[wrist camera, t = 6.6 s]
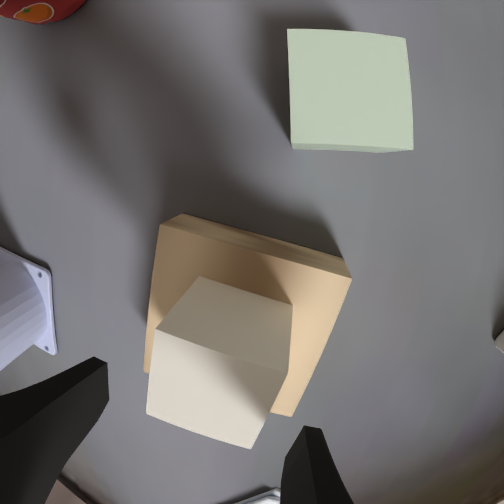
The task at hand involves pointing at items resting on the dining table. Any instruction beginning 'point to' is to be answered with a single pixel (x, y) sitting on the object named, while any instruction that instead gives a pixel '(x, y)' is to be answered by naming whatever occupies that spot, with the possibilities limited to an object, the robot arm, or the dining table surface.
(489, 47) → the dining table surface
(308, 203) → the dining table surface
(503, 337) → the spoon rest
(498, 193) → the dining table surface
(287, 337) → the cream block
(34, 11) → the smoothie
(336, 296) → the oak base
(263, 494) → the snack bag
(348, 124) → the sage block
